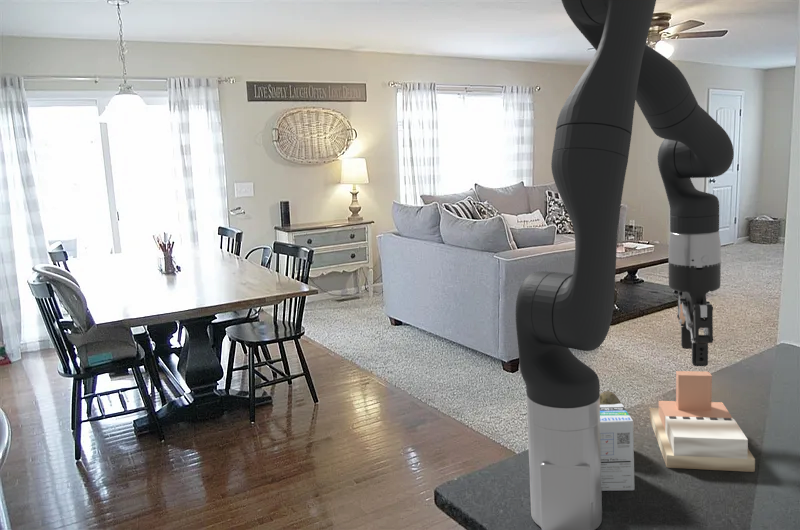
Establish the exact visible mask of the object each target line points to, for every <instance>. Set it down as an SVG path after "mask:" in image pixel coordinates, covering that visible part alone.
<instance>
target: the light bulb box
mask: <svg viewBox="0 0 800 530" xmlns="http://www.w3.org/2000/svg"><path fill="white" fill-rule="evenodd" d="M634 438H635V437H634V420H633V418H632V417H631V415H630V414H629V413H628V411H627V410H626V409H625V406H624V405H623V403H621V404H603V405H600V446H601V492H605V491H607V492H611V491H613V492H615V491H617V492H618V491H619V492H620V491H635V453H634V452H635V449H634V448H635V447H634V446H635V443H634Z"/></svg>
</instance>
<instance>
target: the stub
mask: <svg viewBox="0 0 800 530" xmlns="http://www.w3.org/2000/svg"><path fill="white" fill-rule="evenodd" d="M675 372H676V373H675V377H676V378H675V400H658V408H659V416H660V419H661V421H662V424H663V426H664V429H665V416H678V417H711V418H733V417H732V414H731V413H730V412H729V410H728V409H727V407H726V406H725V404H724V403H723V402H722V401H720V402H719V401H717V402H715V401H712V398H713V397H712V393H713V392H712V391H713V389H712V388H713V387H712V386H713V385H712V383H713V381H712V380H713V379H712V378H713V375H712V374H711V373H710V371H701V370H700V371H699V370H698V371H696V370H695V371H694V370H689V371H688V370H684V371H683V370H676V371H675Z"/></svg>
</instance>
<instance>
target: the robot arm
mask: <svg viewBox="0 0 800 530" xmlns="http://www.w3.org/2000/svg"><path fill="white" fill-rule="evenodd" d="M561 3H562V6H563V8H564V10H565V12H566V14H567V17H569V19H570V21H571V22H572V23H573V25H574V26H575V27H576V29H577V30H578V31H579V32H580V33H581V35H583V37H584V38H585V39H586V40H587V41H588V43H589V44H590V45H591V46H592V47H593V48H594V50H595V53H594V55H593V57H592V59H591V60H590V62H589V64H588V66H587V67H586V69H585V70H584V72H583V73H582V75H581V76H580V78H579V79H578V81H577V82H576V84H575V86H574V87H573V89H572V90H571V91H570V93H569V95H568V96H567V98H566V99H565V102H564V104H563V105H562V108H561V110H560V112H559V114H558V116H557V123H556V126H555V131H554V132H555V134H554V141H553V148H552V155H551V163H550V164H551V173H552V174H551V175H552V177H553V181H554V184H555V186H556V188H557V192H558V193H559V196H560V199H561V200H562V203H563V205H564V207H565V209H566V212H567V214H568V216H569V218H570V222H571V225H572V229H573V233H574V243H575V244H574V245H575V247H574V249H575V251H574V264H573V265H574V266H573V270H572V271H573V272H572V273H568V272H567V273H565V272H558V271H557V272H556V271H548V270H545V271H544V270H542V271H541V270H540V271H534V272H532V273H530V274H529V275H527V276H526V277H525V279H524V280H522V282H521V284H520V286H519V289H518V292H517V296H516V303H515V329H516V339H517V348H518V357H519V358H518V359H519V361H518V362H519V368H520V370H519V371H520V373H521V376H522V379H523V381H524V384H525V389H526V390H525V391H526V393H525V394H526V415H527V416H526V419H527V420H526V421H527V441H528V442H527V444H528V464H529V465H528V466H529V467H528V470H529V491H530V515H531V518H532V520H533V521H534V522H535V524H536V525H537V526H538V527H540V528H541V530H596V529H598V528H599V526H600V525H601V524H602V522H603V506H602V504H603V503H602V502H603V500H602V497H603V495H602V491H601V446H600V394H601V393H600V392H601V391H600V388H601V387H600V385H601V384H600V379H599V376H598V374H597V373H596V372H595V370H594V369H592V367H590V366H589V365H588V364H586V363H584V362H583V361H581V360H580V359H579V358H577V357H576V355H574V354H573V352H572V351H571V350H570V349H572V350H576V351H577V350H578V351H583V352H590V351H595V350H596V349H599V347H601V345H602V344H603V343H604V341H606V338H607V335H608V333H609V331H610V328H611V323H612V319H613V314H614V308H615V307H614V305H615V304H614V303H615V289H616V288H615V287H616V272H617V269H616V268H617V249H618V247H617V246H618V234H619V222H620V214H621V206H622V198H623V193H624V185H625V180H626V179H625V178H626V174H627V169H628V164H629V157H630V156H629V155H630V149H631V148H630V147H631V142H632V141H631V140H632V135H633V133H632V132H633V125H634V124H633V123H634V113H635V105H636V104H637V105H638V107H639V109H640V111H641V113H642V114H643V116H644V118H645V119H646V122H647V123H648V125H649V127H650V128H651V130H652V132H653V133H654V135H656V136H658V138H661V139H663V141H662V142H661V144H660V146H659V148H658V150H657V151H658V153H657V165H658V171H659V174H660V177H661V179H662V182H663V187H664V190H665V194H666V197H667V201H668V205H669V223H670V224H669V231H670V232H669V241H668V287H669V288H670V289H671V290H673V291H675V292H677V314H676V316H677V317H676V318H677V319H678V320H679V321H678V323H679V326H680V327H681V328H680V332H681V333H680V338H681V339H680V341H681V342H680V346H681V347H682V348H683V349H684V350H687V349H689V350H691V364H692V365H693V366H694V367H706V366H708V364H709V344H713V342H714V335H713V334H714V327H713V326H714V323H713V319H714V318H713V317H714V314H713V313H714V312H713V310H714V307H713V304H712V303H710V301H709V300H707V294H708V293H709V292H715V291H718V290H719V289H720V288H721V273H722V272H721V270H722V269H721V267H722V265H721V263H722V262H721V260H722V259H721V256H722V255H721V254H722V245H721V238H720V202H719V198H718V197H717V196H716V195H715V194H713V193H710V192H705V191H700V190H699V189H696V187H695V185H694V184H693V182H692V179H694V178H695V179H696V178H698V179H700V178H703V179H706V178H707V179H710V178H716V177H720V176H722V175H724V174H725V173H726V172H727V171H728V170H729V169H730V167H731V166H732V164H733V160H734V146H733V142H732V140H731V138H730V136H729V134H728V133H727V132H726V130H725V129H724V128H723V127H722V126H721V124H719V123H718V122H717V121H716V120H715V119H714V118H713V116H711V115H710V114H709V112H707V111H706V110H705V109H704V108H702V107H701V106H700V104H699V103H698V101H697V98H696V96H695V94H694V92H693V91H692V89H691V86H690V85H689V84H690V83H688V81H687V78H686V77H685V75H684V74H683V73H682V71H681V70H680V69H679V68H678V67H677V66H676V64H674V62H672V61H671V60H670V59H669V58H667V57H665V56H664V55H663V54H661V53H660V52H659V51H656V49H654V48H653V47H651V46H649V45H648V44H647V41H648V37H649V33H650V28H651V24H652V21H653V16H654V13H655V7H656V3H657V0H561ZM699 331H703V334H699Z"/></svg>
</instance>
